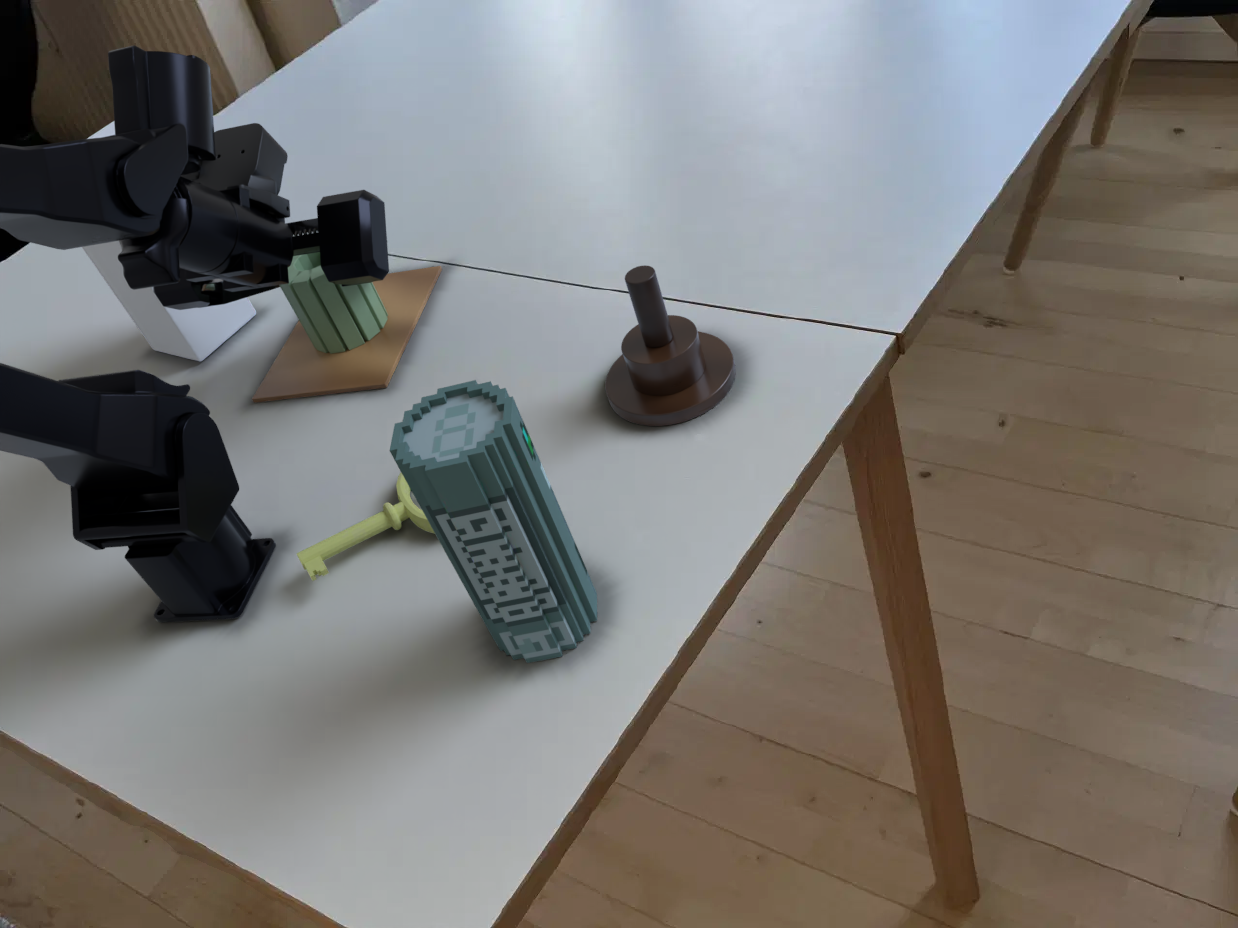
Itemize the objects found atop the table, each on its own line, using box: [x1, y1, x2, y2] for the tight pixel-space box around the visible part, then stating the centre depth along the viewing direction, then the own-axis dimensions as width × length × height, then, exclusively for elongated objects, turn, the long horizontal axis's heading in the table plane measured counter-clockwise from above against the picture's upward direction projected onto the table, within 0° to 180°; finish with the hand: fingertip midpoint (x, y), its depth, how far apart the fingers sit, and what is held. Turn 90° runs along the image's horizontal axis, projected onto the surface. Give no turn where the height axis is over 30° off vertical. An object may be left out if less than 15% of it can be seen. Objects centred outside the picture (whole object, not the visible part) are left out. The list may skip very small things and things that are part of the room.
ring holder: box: [604, 265, 737, 427], centre depth 71 cm, size 9×9×9 cm
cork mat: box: [251, 265, 443, 404], centre depth 89 cm, size 16×12×1 cm
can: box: [389, 379, 598, 664], centre depth 56 cm, size 6×6×15 cm
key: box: [296, 472, 436, 582], centre depth 69 cm, size 7×12×2 cm, turn 139°
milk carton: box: [81, 120, 257, 362], centre depth 90 cm, size 7×7×19 cm
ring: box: [279, 252, 388, 354], centre depth 87 cm, size 7×7×7 cm
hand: (329, 272), depth 87 cm, fingers open, 9 cm apart
